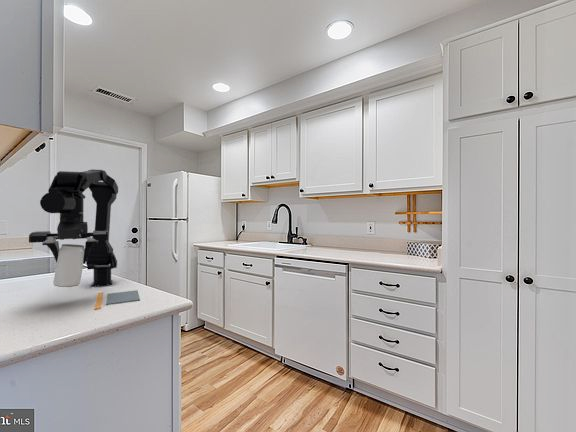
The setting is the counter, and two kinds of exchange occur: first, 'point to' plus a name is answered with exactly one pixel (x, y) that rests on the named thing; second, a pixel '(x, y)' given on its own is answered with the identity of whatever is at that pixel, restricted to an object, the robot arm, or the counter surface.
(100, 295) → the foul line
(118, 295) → the mat
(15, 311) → the counter surface
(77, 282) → the can
